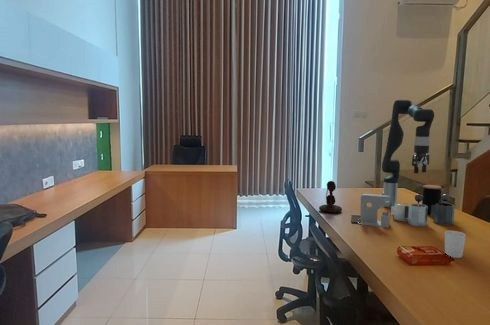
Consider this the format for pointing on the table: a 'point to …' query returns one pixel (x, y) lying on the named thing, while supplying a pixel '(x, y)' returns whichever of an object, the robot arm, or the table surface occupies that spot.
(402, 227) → the table surface
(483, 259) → the table surface
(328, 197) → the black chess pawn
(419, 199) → the plunger
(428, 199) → the coffee jar
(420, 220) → the steel press
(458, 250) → the white cup
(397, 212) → the mug
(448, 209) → the black press
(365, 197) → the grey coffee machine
